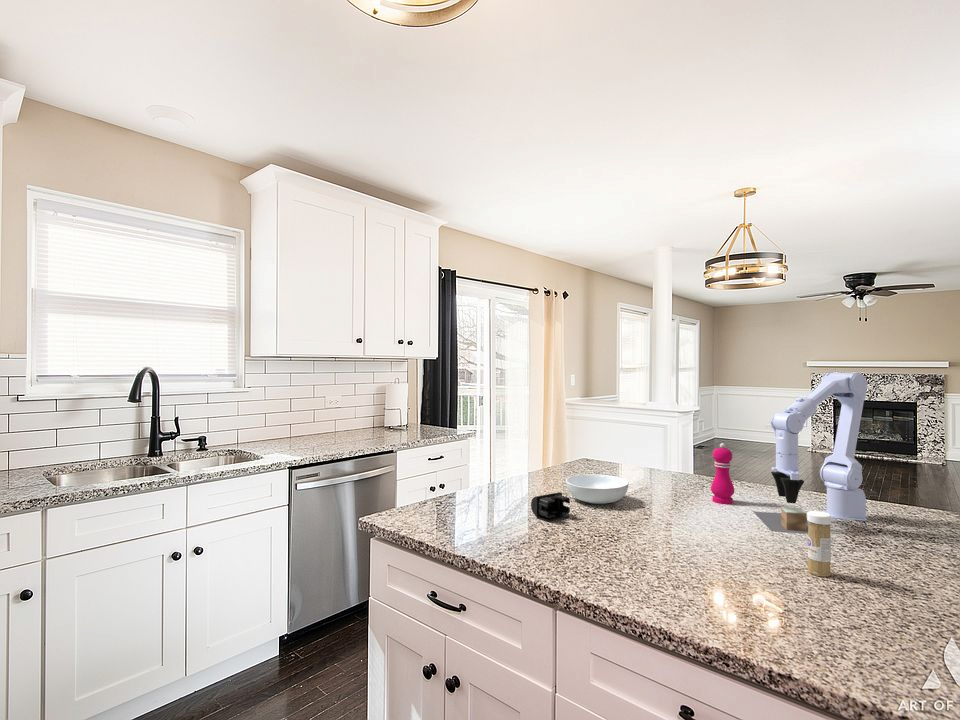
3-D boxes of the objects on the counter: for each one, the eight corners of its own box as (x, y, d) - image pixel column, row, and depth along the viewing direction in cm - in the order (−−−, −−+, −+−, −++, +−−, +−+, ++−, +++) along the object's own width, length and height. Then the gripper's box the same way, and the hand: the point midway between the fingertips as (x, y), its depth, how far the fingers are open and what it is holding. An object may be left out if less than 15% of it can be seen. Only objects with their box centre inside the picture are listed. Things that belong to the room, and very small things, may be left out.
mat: (802, 515, 162) (802, 514, 162) (828, 536, 142) (828, 535, 142) (752, 512, 165) (753, 511, 165) (771, 532, 146) (771, 531, 146)
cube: (806, 513, 146) (806, 531, 146) (800, 508, 151) (800, 525, 151) (786, 511, 147) (786, 529, 147) (781, 507, 152) (781, 524, 152)
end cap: (555, 511, 166) (555, 490, 166) (570, 517, 160) (571, 495, 160) (530, 516, 160) (530, 494, 160) (545, 522, 154) (545, 499, 154)
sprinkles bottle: (802, 569, 119) (802, 510, 119) (821, 569, 120) (821, 510, 120) (817, 578, 115) (817, 516, 115) (836, 577, 115) (836, 515, 115)
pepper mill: (737, 506, 172) (737, 445, 172) (713, 504, 174) (713, 444, 174) (731, 500, 179) (731, 441, 180) (708, 499, 181) (708, 441, 181)
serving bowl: (554, 496, 184) (554, 477, 184) (602, 490, 193) (602, 472, 193) (590, 512, 165) (590, 490, 165) (642, 504, 174) (642, 484, 174)
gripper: (765, 448, 163) (765, 492, 163) (779, 457, 149) (779, 505, 149) (790, 449, 161) (790, 494, 161) (807, 458, 147) (807, 506, 147)
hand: (787, 499), depth 155 cm, fingers open, 7 cm apart
